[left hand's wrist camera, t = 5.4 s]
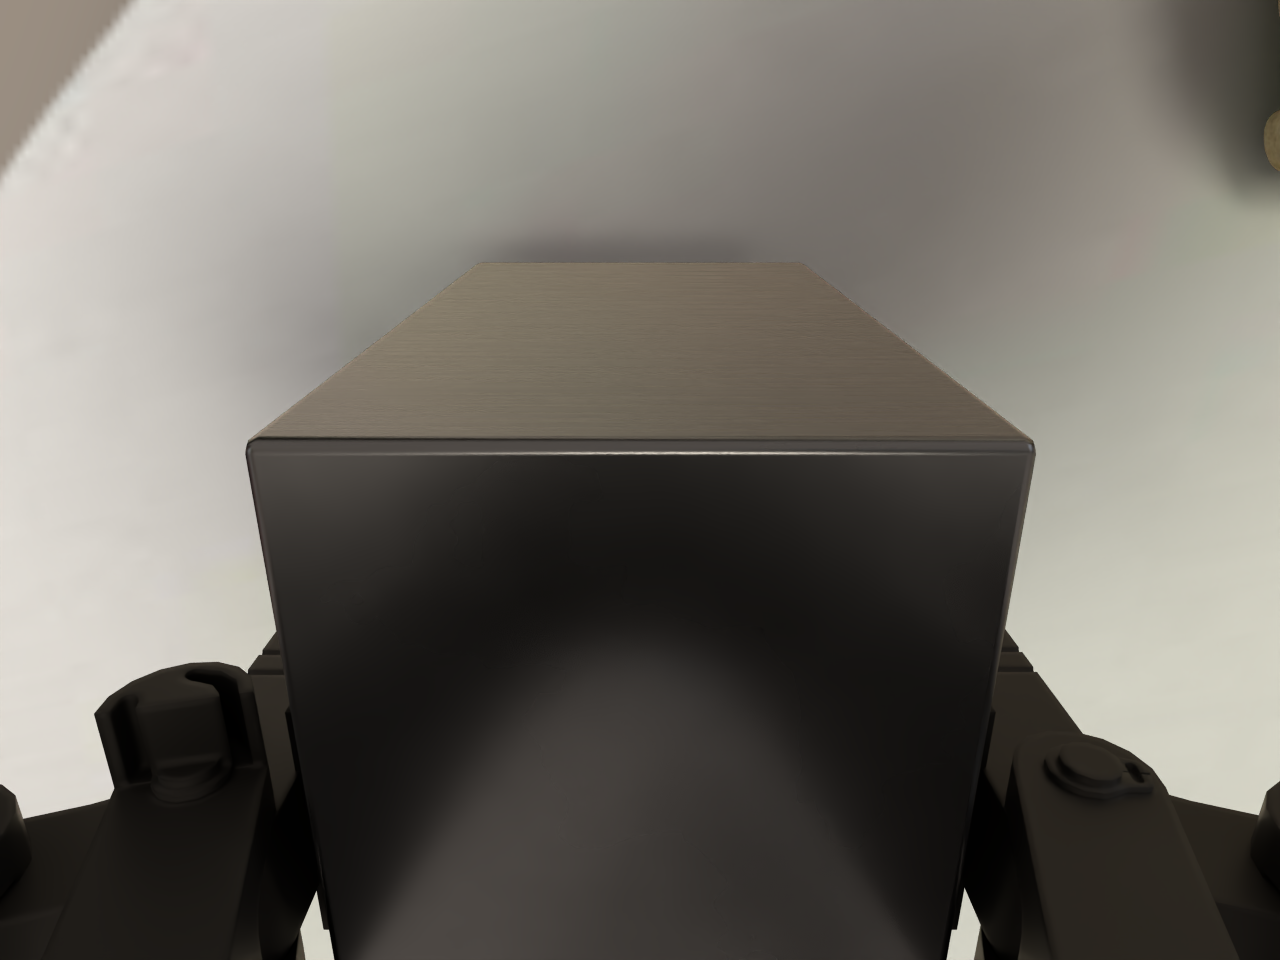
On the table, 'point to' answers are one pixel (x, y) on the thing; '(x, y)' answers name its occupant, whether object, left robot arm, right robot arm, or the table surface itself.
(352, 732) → the bar
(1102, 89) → the table surface
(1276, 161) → the sculpture
